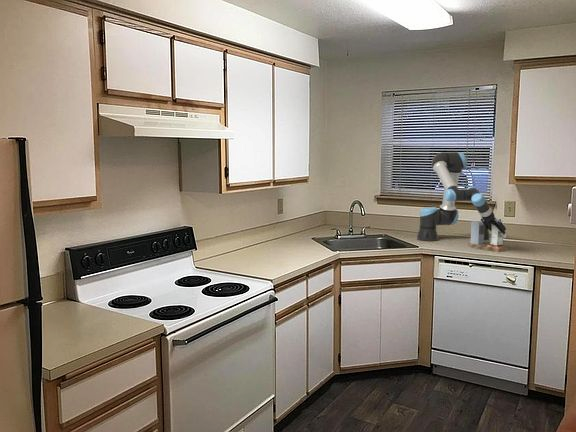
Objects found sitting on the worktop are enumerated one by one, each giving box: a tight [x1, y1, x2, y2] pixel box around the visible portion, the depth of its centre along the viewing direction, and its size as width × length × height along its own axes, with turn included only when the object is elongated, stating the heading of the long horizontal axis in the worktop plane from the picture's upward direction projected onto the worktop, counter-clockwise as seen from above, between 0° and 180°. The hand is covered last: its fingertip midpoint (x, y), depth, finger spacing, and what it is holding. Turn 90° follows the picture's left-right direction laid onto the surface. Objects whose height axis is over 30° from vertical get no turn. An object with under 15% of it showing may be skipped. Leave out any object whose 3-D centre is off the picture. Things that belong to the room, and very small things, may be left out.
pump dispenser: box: [484, 228, 491, 244], centre depth 357 cm, size 10×10×15 cm
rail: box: [467, 242, 508, 253], centre depth 340 cm, size 23×9×3 cm, turn 34°
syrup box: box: [489, 222, 505, 246], centre depth 333 cm, size 6×6×14 cm
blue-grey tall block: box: [470, 220, 485, 245], centre depth 345 cm, size 7×6×15 cm
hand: (500, 236), depth 335 cm, fingers closed on syrup box, 6 cm apart
